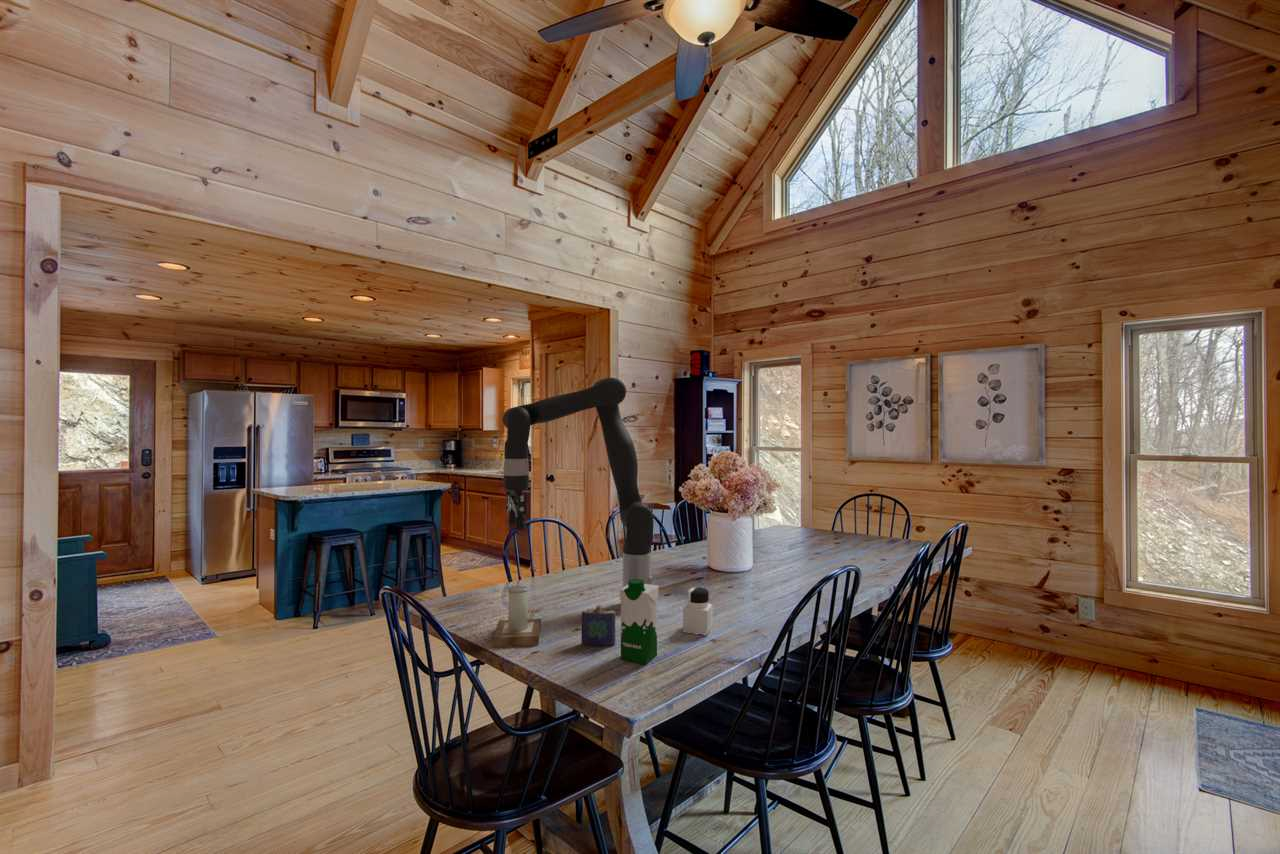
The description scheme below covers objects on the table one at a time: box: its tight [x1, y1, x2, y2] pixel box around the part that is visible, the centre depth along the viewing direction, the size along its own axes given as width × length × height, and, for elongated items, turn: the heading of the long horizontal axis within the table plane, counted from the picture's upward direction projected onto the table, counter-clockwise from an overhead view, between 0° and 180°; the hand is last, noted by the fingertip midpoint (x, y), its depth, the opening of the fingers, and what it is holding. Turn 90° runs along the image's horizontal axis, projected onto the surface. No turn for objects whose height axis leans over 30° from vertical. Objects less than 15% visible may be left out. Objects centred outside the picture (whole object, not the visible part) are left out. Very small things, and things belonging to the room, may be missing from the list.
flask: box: [580, 604, 617, 647], centre depth 159 cm, size 9×3×11 cm, turn 88°
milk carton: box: [619, 579, 660, 666], centre depth 150 cm, size 9×9×20 cm
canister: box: [507, 585, 529, 631], centre depth 164 cm, size 5×5×11 cm
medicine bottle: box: [682, 586, 714, 636], centre depth 170 cm, size 7×7×12 cm
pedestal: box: [492, 618, 542, 647], centre depth 165 cm, size 12×14×3 cm
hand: (515, 527), depth 178 cm, fingers open, 8 cm apart
